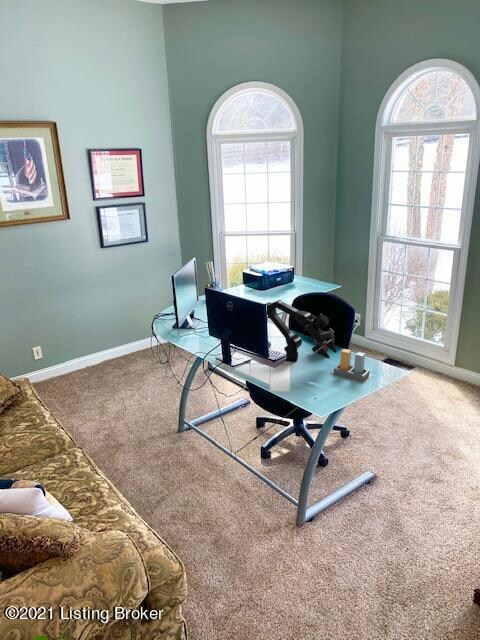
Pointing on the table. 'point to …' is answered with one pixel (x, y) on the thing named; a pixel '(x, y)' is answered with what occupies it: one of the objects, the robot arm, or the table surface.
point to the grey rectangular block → (359, 363)
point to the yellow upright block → (345, 360)
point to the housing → (352, 374)
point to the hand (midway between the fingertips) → (332, 355)
